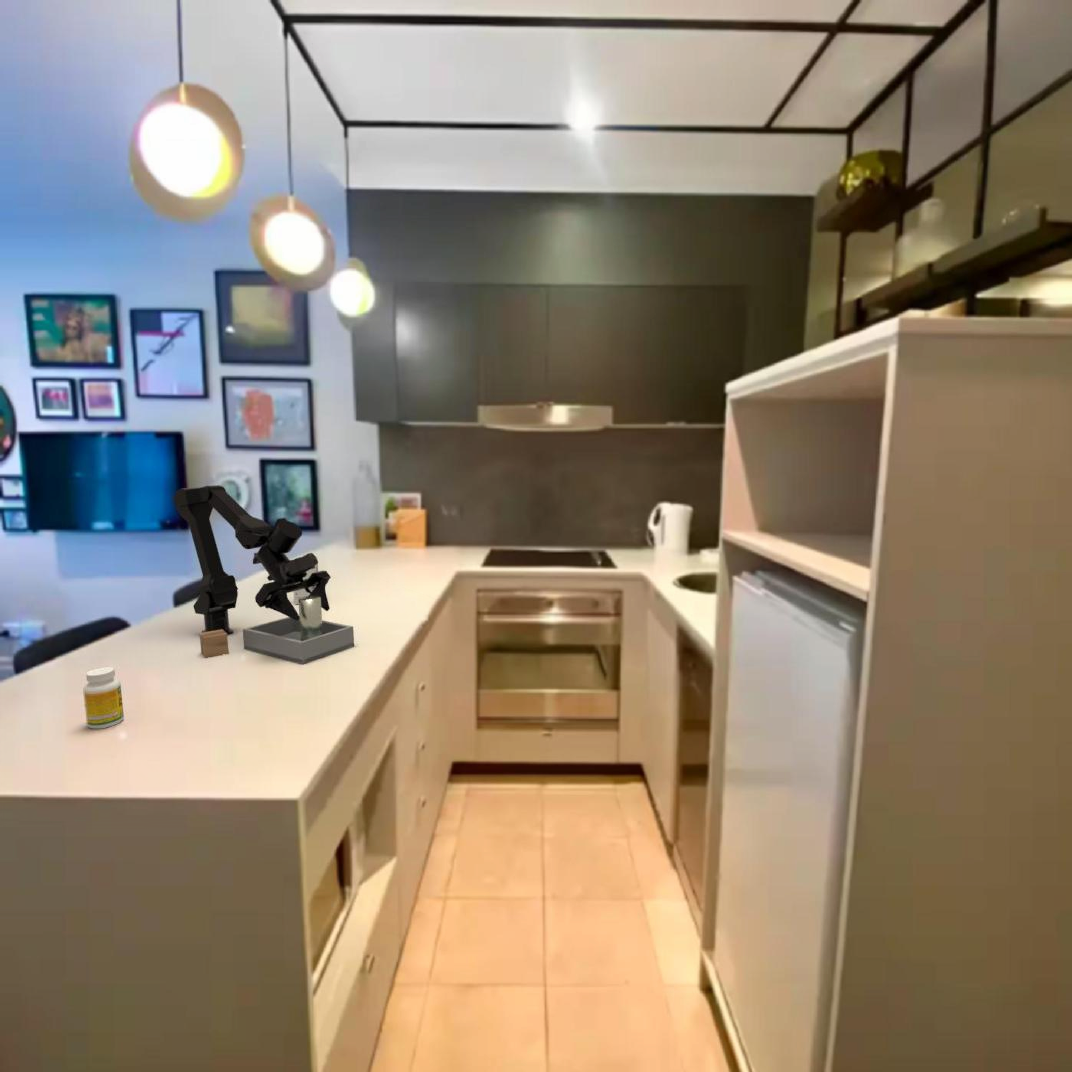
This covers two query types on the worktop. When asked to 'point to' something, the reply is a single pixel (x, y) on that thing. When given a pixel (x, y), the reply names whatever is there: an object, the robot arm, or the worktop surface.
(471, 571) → the worktop surface
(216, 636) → the walnut cube
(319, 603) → the sage tin
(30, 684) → the worktop surface
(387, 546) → the worktop surface
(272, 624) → the tote
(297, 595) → the supplement box
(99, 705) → the supplement bottle
